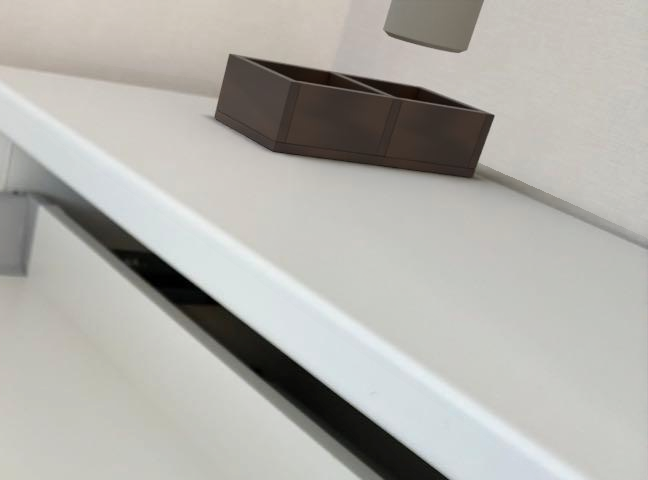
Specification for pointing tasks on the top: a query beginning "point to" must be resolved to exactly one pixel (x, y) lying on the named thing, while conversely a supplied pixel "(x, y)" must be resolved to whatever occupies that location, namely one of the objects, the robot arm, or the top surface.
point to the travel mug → (434, 22)
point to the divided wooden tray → (350, 117)
